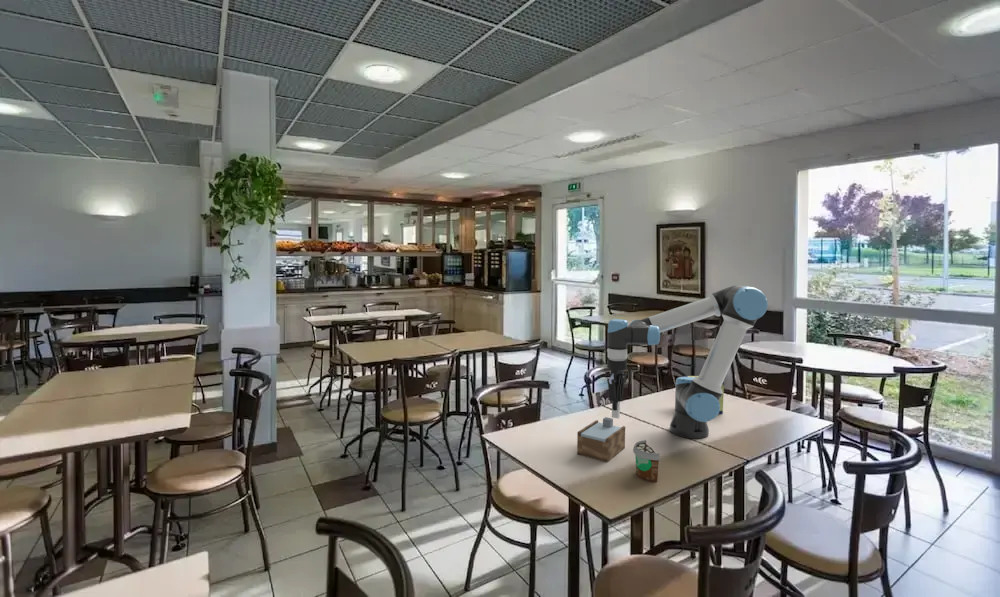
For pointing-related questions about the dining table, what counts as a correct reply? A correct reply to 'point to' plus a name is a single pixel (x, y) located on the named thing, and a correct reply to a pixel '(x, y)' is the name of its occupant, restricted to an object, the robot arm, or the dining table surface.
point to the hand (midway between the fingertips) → (615, 417)
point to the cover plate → (601, 430)
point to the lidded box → (601, 445)
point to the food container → (646, 462)
